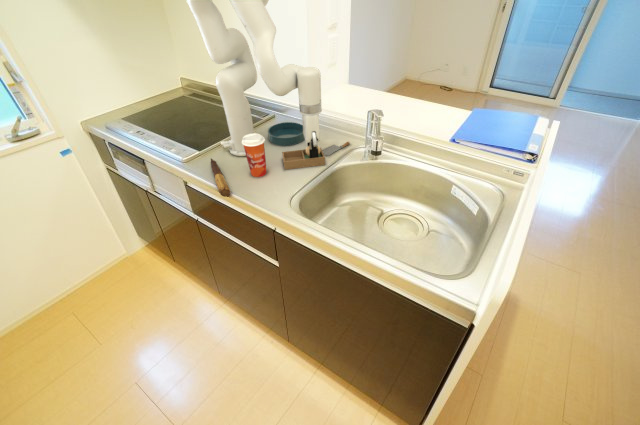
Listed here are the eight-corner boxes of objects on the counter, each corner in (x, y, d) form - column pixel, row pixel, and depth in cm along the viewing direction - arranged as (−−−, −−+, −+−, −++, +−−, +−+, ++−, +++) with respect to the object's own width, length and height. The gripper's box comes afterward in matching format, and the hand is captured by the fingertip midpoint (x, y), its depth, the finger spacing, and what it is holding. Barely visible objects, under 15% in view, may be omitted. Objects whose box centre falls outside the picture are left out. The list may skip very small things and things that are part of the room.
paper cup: (249, 180, 111) (242, 144, 102) (247, 169, 117) (240, 134, 108) (271, 176, 113) (266, 140, 104) (268, 166, 118) (262, 131, 110)
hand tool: (232, 191, 103) (228, 199, 104) (216, 157, 122) (212, 164, 122) (223, 187, 101) (218, 195, 101) (208, 154, 119) (204, 160, 120)
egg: (306, 159, 117) (306, 149, 114) (305, 154, 120) (304, 143, 118) (321, 157, 118) (321, 147, 115) (319, 152, 121) (319, 142, 118)
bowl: (269, 147, 130) (268, 139, 128) (267, 131, 142) (266, 124, 140) (308, 143, 132) (307, 135, 130) (302, 127, 144) (302, 120, 142)
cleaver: (318, 153, 126) (327, 157, 123) (318, 150, 125) (327, 154, 122) (341, 141, 133) (350, 144, 130) (341, 138, 132) (350, 141, 129)
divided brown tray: (284, 169, 116) (283, 161, 114) (283, 159, 122) (282, 151, 120) (325, 165, 118) (324, 157, 116) (321, 155, 124) (320, 147, 122)
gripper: (296, 99, 113) (300, 146, 125) (303, 117, 100) (306, 167, 112) (317, 97, 114) (318, 144, 126) (326, 115, 101) (327, 164, 113)
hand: (313, 154), depth 119 cm, fingers closed on egg, 4 cm apart
